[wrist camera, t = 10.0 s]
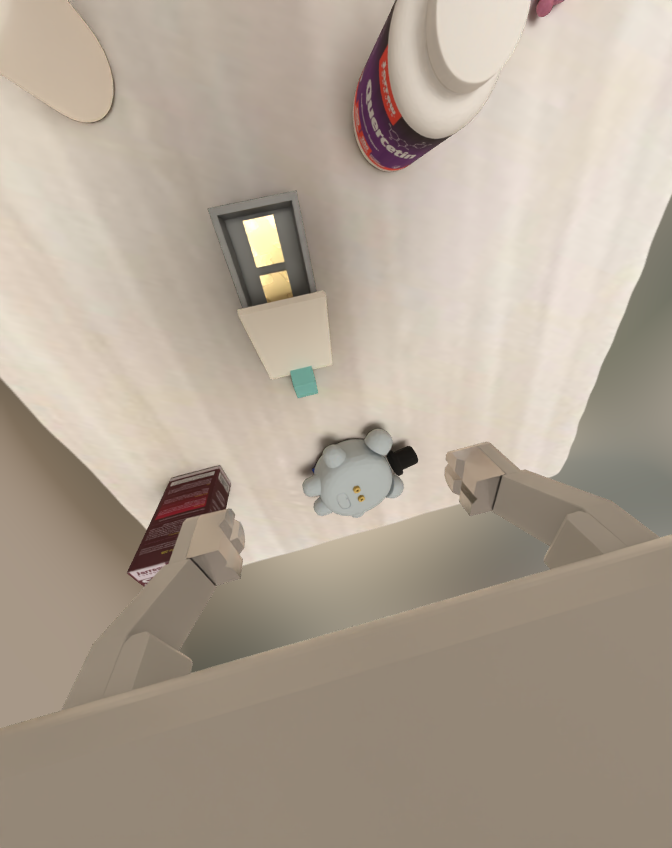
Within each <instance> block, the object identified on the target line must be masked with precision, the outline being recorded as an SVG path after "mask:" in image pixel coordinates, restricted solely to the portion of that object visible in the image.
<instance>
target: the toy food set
mask: <svg viewBox="0 0 672 848" xmlns="http://www.w3.org/2000/svg"><path fill="white" fill-rule="evenodd" d="M563 1H564V0H539V2H538V4H537V8H536V12H537V14H538V16H539V17H544V16H546V15H547V14H548V13H550V11H551V9H552V6H553V5H556V4H559V3H561V2H563Z"/></svg>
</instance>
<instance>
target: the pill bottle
mask: <svg viewBox="0 0 672 848" xmlns="http://www.w3.org/2000/svg"><path fill="white" fill-rule="evenodd" d="M530 2H531V0H396V1H395V3H394V5H393V7H392V9H391V12H390V14H389V16H388V18H387V20H386V22H385V25H384V27H383V29H382V31H381V33H380V35H379V37H378V40H377V42H376V44H375V46H374V48H373V50H372V52H371V55H370V57H369V59H368V61H367V63H366V65H365V67H364V69H363V71H362V74H361V76H360V79H359V82H358V85H357V88H356V91H355V96H354V102H353V126H354V132H355V137H356V140H357V143H358V146H359V148H360V150H361V152H362V154H363V155H364V157H365V158H366V159H367V161H368V162H369V163H370V164H372V165H373V166H374V167H376V168H378V169H380V170H382V171H387V172H393V171H398V170H401V169H403V168H405V167H407V166H408V165H410V164H411V163H413V162H414V161H416V160H417V159H418V158H420V157H421V156H423V155H424V154H426V153H427V152H428V151H430V150H431V149H433V148H434V147H436V146H437V145H439V144H440V143H441V142H443V141H444V140H446V139H447V138H449V137H450V136H452V135H453V134H455V133H456V132H458V131H459V130H461V129H462V128H463V127H465V126H466V125H467V124H468V123H469V122H470V121H471V120H472V119H473V118H474V117H475V116H476V115H477V114H478V112H479V111H480V110H481V108H482V107H483V106H484V104H485V102H486V101H487V99H488V97H489V96H490V94H491V92H492V90H493V88H494V86H495V84H496V82H497V80H498V77H499V74H500V72H501V69H502V67H503V66H504V65H505V64H506V62H507V61H508V59H509V58H510V56H511V55H512V53H513V51H514V50H515V48H516V46H517V44H518V42H519V40H520V37H521V35H522V32H523V30H524V26H525V23H526V20H527V17H528V13H529V8H530Z"/></svg>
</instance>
